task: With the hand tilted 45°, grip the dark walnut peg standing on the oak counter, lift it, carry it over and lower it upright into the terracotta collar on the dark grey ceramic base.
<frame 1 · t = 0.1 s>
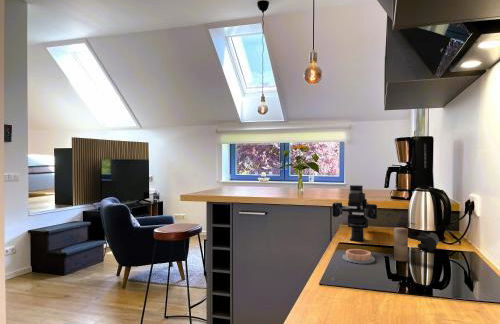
hand: (352, 213, 146), 17 cm above the worktop, tool horizontal, fingers open, 9 cm apart
end cap: (428, 250, 151), on the worktop
collar: (358, 259, 137), on the worktop
walnut peg: (400, 259, 137), on the worktop
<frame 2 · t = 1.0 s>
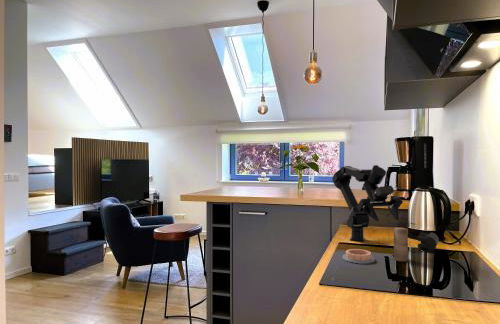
hand: (388, 220, 144), 14 cm above the worktop, tool tilted 45°, fingers open, 9 cm apart
nothing on the worktop moved.
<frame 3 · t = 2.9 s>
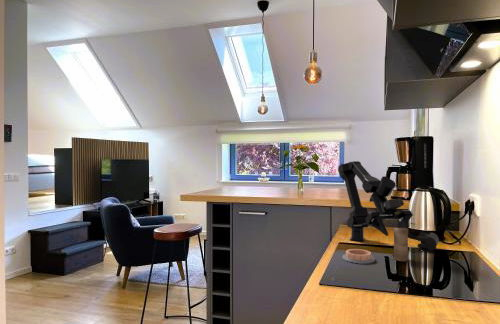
hand: (398, 234, 138), 9 cm above the worktop, tool tilted 45°, fingers open, 9 cm apart
nothing on the worktop moved.
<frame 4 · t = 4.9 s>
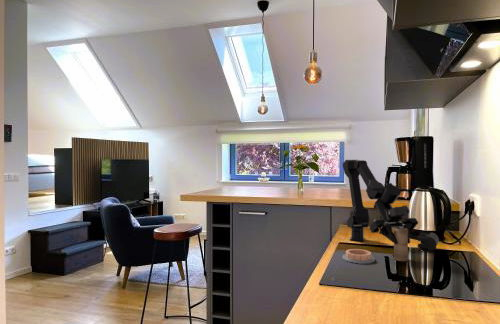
hand: (403, 243, 135), 7 cm above the worktop, tool tilted 45°, fingers closed on walnut peg, 5 cm apart
walnut peg: (400, 259, 137), on the worktop, touching gripper
everything else where it was.
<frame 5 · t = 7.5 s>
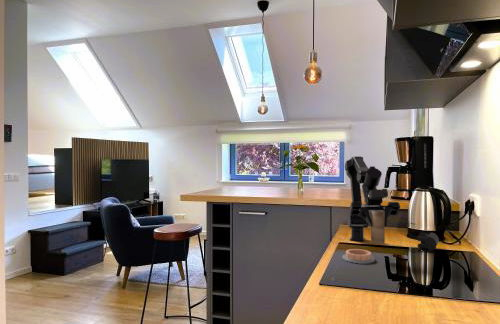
hand: (378, 226, 135), 13 cm above the worktop, tool tilted 45°, fingers closed on walnut peg, 5 cm apart
walnut peg: (377, 242, 136), point 7 cm above the worktop, touching gripper
everything else where it was.
when the fingers open (9 cm above the worktop, at t = 10.1 s): walnut peg drops 1 cm, resting on collar.
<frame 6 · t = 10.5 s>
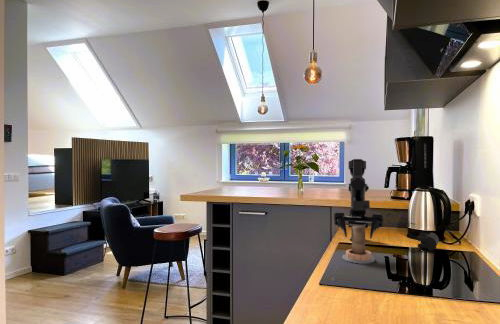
hand: (358, 237, 136), 9 cm above the worktop, tool tilted 45°, fingers open, 9 cm apart
walnut peg: (358, 257, 137), point 1 cm above the worktop, touching collar
everything else where it was.
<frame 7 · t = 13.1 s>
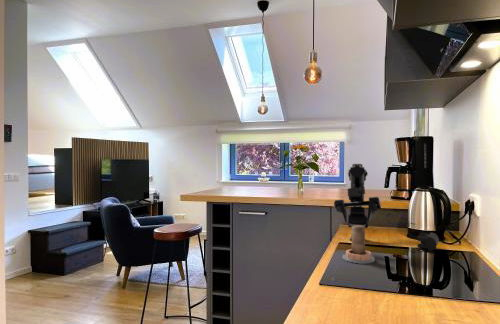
hand: (357, 221, 146), 13 cm above the worktop, tool tilted 40°, fingers open, 9 cm apart
nothing on the worktop moved.
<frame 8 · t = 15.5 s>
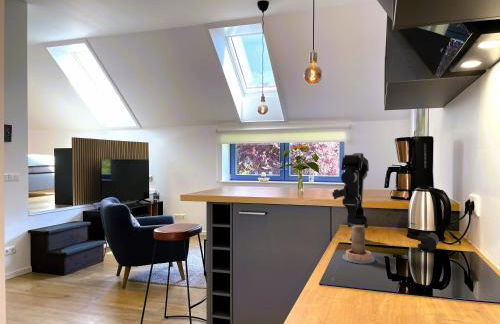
hand: (351, 218, 155), 13 cm above the worktop, tool pointing down, fingers open, 9 cm apart
nothing on the worktop moved.
at the end: walnut peg 0.0 cm off-centre on the collar, point 0.8 cm above the collar's base; walnut peg tilted 0°; the gripper is holding nothing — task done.
